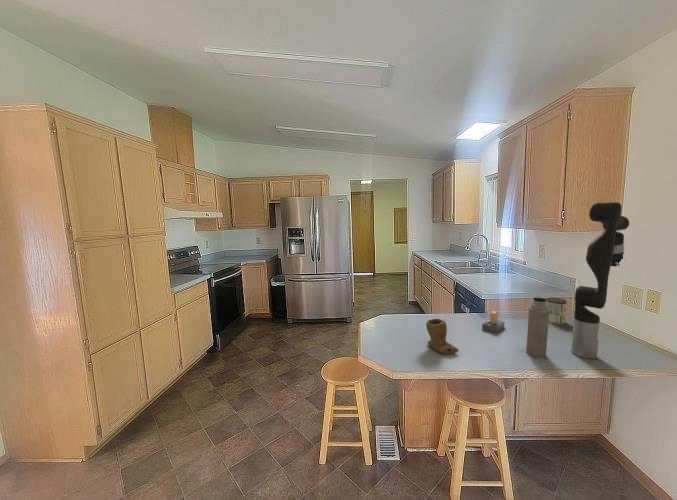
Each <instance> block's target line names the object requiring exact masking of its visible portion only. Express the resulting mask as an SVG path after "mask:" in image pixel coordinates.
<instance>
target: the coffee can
mask: <svg viewBox="0 0 677 500" xmlns="http://www.w3.org/2000/svg"><path fill="white" fill-rule="evenodd" d="M545 299H546V301H545V302H546V305H547V306H548V309H547V310H548V311H549V321H548V323H550V324H554V325H565V324H566V314H567V313H566V308H567V300H566V299H564V298H559V297H545Z"/></svg>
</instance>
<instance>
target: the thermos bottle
mask: <svg viewBox="0 0 677 500" xmlns="http://www.w3.org/2000/svg"><path fill="white" fill-rule="evenodd" d="M547 309H548V306H547V305H546V298H544V297H533V302H532V303H531V304H530V307H529V309H528V321H527V336H526V350H525V353H526V354H527V355H529V356H530V357H533V358H537V359H538V358H539V359H544V358H546V357H547V350H548V349H547V345H548V335H549V334H548V333H549V332H548V331H549V322H548V321H549V311H548V310H547Z"/></svg>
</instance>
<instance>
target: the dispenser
mask: <svg viewBox="0 0 677 500" xmlns="http://www.w3.org/2000/svg"><path fill="white" fill-rule="evenodd" d="M505 322H506V321H502V320H498V319H497V323H496V324H491V323H490V318H489V319H487V320H486V321H484V322H483V323H482V324H481V329H482V330H483V331H486V332H490V333H494V334H498V333H499V332H501V331H502V330H503V329H505Z"/></svg>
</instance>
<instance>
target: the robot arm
mask: <svg viewBox="0 0 677 500" xmlns="http://www.w3.org/2000/svg"><path fill="white" fill-rule="evenodd" d="M622 208H623V207H622V205H621V203H620V202H618V201H617V202H616V201H615V202H613V201H611V202H596V203H593V204H592V205H591V206H590V208H589V212H588V213H589V214H588V215H589V218H590V221H592V222H598V223H600V224H602V228H603V231H602V232H601V233H600V234H599V235H598V236H597V237H595V238H594V239H593V240H592V241H591V242H590V243H589V245H588V246H587V251H586V255H585V261H586V263H587V265H588V267H589V268H590V270H591V271H592V272H593V273H592V274H593V275H594V277H595V279H596V283H597V287H591V286H584V285H580V286H579V285H578V286H577V287H576V289H575V292H574V315H573V325H572V328H573V329H572V340H571V341H572V342H571V353H572V354H573V355H575V356H577V357H579V358H581V359H589V360H597V359H598V350H599V332H600V331H599V329H600V320H601V318H600V316H599V314H597V313H594V312H593V311H592V310H591V311H590V309H588V308H594V309H603V308H604V307H605V306H606V303H607V295H608V284H609V283H608V282H609V275H610V271H611V267H616V266H617V265H618V267H619V265H620V264H619V262H620V261H621V259H623V254H624V255H625V242H624V241H625V235H624V233H622V232H619V231H623V230H624V231H625V230H626V229H628V228H629V226H630V220H629V219H628V217H626V216H624V215H623V216H622V215H621V214H622ZM616 268H617V267H616ZM587 307H588V308H587Z"/></svg>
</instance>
